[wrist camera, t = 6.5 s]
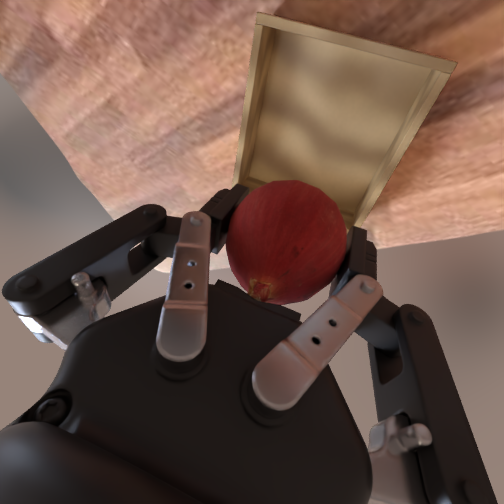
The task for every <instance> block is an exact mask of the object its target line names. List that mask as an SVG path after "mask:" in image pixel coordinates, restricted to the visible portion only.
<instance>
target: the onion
mask: <svg viewBox="0 0 504 504" xmlns="http://www.w3.org/2000/svg"><path fill="white" fill-rule="evenodd" d="M346 249H347V229H346V225H345V222H344V219H343V217H342V215H341V213H340V210H339V208H338V206H337V204H336V203H335V202H334V201H333V200H332V199H331V198H330V197H329V196H327V195H326V194H325V193H324V192H323V191H322V190H320V189H319V188H317V187H314V186H312V185H309V184H307V183H304V182H302V181H299V180H280V181H272V182H270V183H267V184H265V185H263V186H261V187H258V188H256V189H255V190H253V191H252V192H251V193H250V194H248V195H247V196H246V197H245V198H244V200H243V201H242V202H241V203H240V204H239V205H238V206H237V207H236V209H235V211H234V212H233V214H232V216H231V218H230V223H229V228H228V233H227V238H226V251H227V256H228V260H229V264H230V267H231V270H232V272H233V274H234V275H235V277H236V278H237V280H238V282H239V283H240V285H241V286H242V287H243V288H244V289H245V290H246V291H247V292H248V293H247V294H248V295H250V296H251V297H252V298H254V299H255V300H257V301H262V302H267V303H272V304H277V305H285V304H290V303H296V302H301V301H305V300H308V299H309V298H311V297H312V296H313V295H315V294H316V293H317V292H319V291H320V290H321V289H323V288H324V287H326V286H327V285H328V284H330V283H331V281H332V280H333V279H334V278H335V276H336V274H337V272H338V271H339V269H340V267H341V265H342V263H343V261H344V259H345V255H346Z"/></svg>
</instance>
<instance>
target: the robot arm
mask: <svg viewBox="0 0 504 504" xmlns="http://www.w3.org/2000/svg"><path fill="white" fill-rule="evenodd" d="M249 190H250V189H249V187H246V186H243V185H241V184H238V183H237V184H236V185H235V186H234V187H233V188H232V189H231V190H228V189H223V190H220V191H218V192H217V193H216V194H215V195H214V197H212V198H211V199H210V200H209V201H208V202H207V203H206V204H205V205H204V206H203V207H202V208H201V209H200V210H199V211H192V212H188V213H186V214H185V215H184V216H183V218H179V217H172V216H167V215H166V210H165V209H164V208H163V207H162V206H160V205H156V204H147V205H143V206H141V207H139V208H137V209H135V210H133V211H131V212H129V213H128V214H126V215H124V216H122V217H120V218H119V219H117V220H115V221H113V222H111V223H109V224H108V225H106V226H104V227H102V228H100V229H99V230H97V231H95V232H93V233H91V234H89V235H87V236H86V237H84V238H82V239H80V240H78V241H77V242H75V243H73V244H71V245H69V246H67V247H66V248H64V249H62V250H60V251H58V252H56V253H54V254H53V255H51V256H49V257H47V258H45V259H43V260H42V261H40V262H38V263H36V264H34V265H33V266H31V267H29V268H27V269H25V270H23V271H22V272H20V273H18V274H16V275H14V276H13V277H11V278H10V279H9V280H8V281H7V282H6V283H5V284H4V286H3V289H2V294H3V296H4V297H5V299H6V300H7V301H8V302H9V304H10V305H11V306H12V307H13V311H14V312H15V313H16V315H17V316H18V317H19V318H20V319H21V321H22V322H23V323H24V325H25V326H26V327H27V328H28V329H29V330H30V331H32V332H33V334H34V335H35V336H36V337H37V339H38V340H40V341H41V342H45V343H53V342H55V343H56V344H57V345H58V346H60V347H61V348H62V349H63V350H65V354H64V357H63V360H62V363H61V366H60V368H59V370H58V373H57V375H56V377H55V379H54V381H53V382H52V384H51V385H50V387H49V388H48V390H47V392H46V393H45V394H44V395H43V396H42V398H41V399H40V400H39V401H38V402H37V403H35V404H34V405H33V406H32V407H31V408H30V409H28V410H27V411H26V412H25V413H23V415H21V416H20V417H18V418H17V419H16V420H14V421H13V422H12V423H11V424H9V425H7V426H6V427H5V428H3V429H2V430H1V431H0V504H498V503H497V500H496V497H495V494H494V492H493V489H492V486H491V483H490V480H489V478H488V475H487V472H486V469H485V467H484V464H483V461H482V458H481V455H480V453H479V450H478V447H477V444H476V442H475V439H474V436H473V433H472V431H471V428H470V425H469V422H468V419H467V417H466V414H465V411H464V409H463V406H462V403H461V400H460V397H459V394H458V392H457V389H456V386H455V383H454V381H453V378H452V375H451V372H450V369H449V367H448V364H447V361H446V358H445V356H444V353H443V350H442V347H441V345H440V342H439V339H438V336H437V333H436V330H435V328H434V325H433V322H432V320H431V319H430V317H429V316H428V315H427V313H426V312H424V311H423V310H422V309H420V308H419V307H417V306H414V305H411V304H404V305H402V306H401V307H398V306H397V305H395V304H394V303H392V302H390V301H389V300H388V299H386V298H385V297H384V296H383V289H382V287H381V285H380V284H379V283H378V282H377V264H376V262H377V258H376V257H377V250H376V248H375V246H374V244H373V242H370V241H367V240H366V239H367V230H365V229H362V228H359V227H356V226H354V225H353V226H352V227H351V228H350V230H349V232H348V233H347V249H346V255H345V259H344V261H343V263H342V265H341V267H340V269H339V271H338V272H337V274H336V276H335V278H334V279H333V280H332V282H331V287H330V293H329V298H328V299H327V301H325V302H324V303H323V304H322V305H321V306H320V307H319V308H318V309H317V310H316V311H315V312H314V313H313V314H312V315H311V316H310V317H308V318H307V319H306V320H305V322H303V323H302V322H301V321H299V320H300V316H301V314H300V313H298V312H295V311H293V310H291V309H288V308H286V307H284V306H281V305H277V304H272V303H267V302H262V301H257V300H255V299H254V298H252V297H251V296H250V295H248V294H247V293H245V292H244V291H242V290H241V289H240V288H238V287H236V286H234V285H231V284H229V283H226V282H224V281H221V280H219V279H218V280H217V282H216V284H215V285H213V284H209V264H210V253H211V252H212V253H215V254H218V253H219V251H220V250H221V249H222V247H223V246H224V244H225V243H226V238H227V233H228V228H229V223H230V218H231V216H232V214H233V212H234V211H235V209H236V207H237V206H238V205H239V204H240V203H241V202H242V201H243V200H244V198H245V197H246V196H247V195H248V194H249ZM140 242H141V244H139V245H138V246H136V247H135V248H133V249H132V250H131V251H130V249H131V248H132V247H134V246H135V245H137V244H138V243H140ZM167 257H170V258H173V261H172V266H171V271H170V277H169V282H168V287H167V293H166V295H165V296H162V297H159V298H157V299H154V300H151V301H148V302H146V303H143V304H140V305H138V306H135V307H132V308H129V309H127V310H124V311H121V312H118V313H116V314H113V315H110V316H108V317H105V318H104V316H105V315H106V314H107V313H108V312H109V310H110V308H111V301H113V300H114V299H115V298H116V297H118V296H119V295H120V294H122V293H123V292H124V291H125V290H127V289H128V288H129V287H130V286H132V285H133V284H134V283H135V282H137V281H138V280H139V279H140V278H142V277H143V276H144V275H145V274H147V273H148V272H149V271H151V270H152V269H153V268H154V267H156V266H157V265H158V264H159V263H161V262H162V261H163V260H164V259H166V258H167ZM353 332H356V333H357V334H358V335H360V336H361V337H362V338H364V339H365V340H366V341H368V350H369V357H370V366H371V373H372V380H373V387H374V395H375V402H376V409H377V417H378V423H377V424H375V425H374V426H373V427H372V428H371V430H370V434H369V446H368V449H367V447H366V445H365V442H364V440H363V438H362V435H361V433H360V431H359V429H358V427H357V425H356V423H355V420H354V419H353V416H352V414H351V412H350V410H349V407H348V405H347V403H346V401H345V399H344V397H343V395H342V392H341V390H340V388H339V386H338V384H337V382H336V379H335V377H334V375H333V373H332V371H331V369H330V366H329V364H328V363H329V362H330V360H331V359H332V358H333V357H334V355H335V354H336V353H337V352H338V351H339V349H340V348H341V347H342V346H343V344H344V343H345V342H346V341H347V339H348V338H349V337H350V335H352V333H353Z"/></svg>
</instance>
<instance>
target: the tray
mask: <svg viewBox="0 0 504 504" xmlns="http://www.w3.org/2000/svg"><path fill="white" fill-rule="evenodd" d="M457 64H458V63H457V62H455V61H452V60H449V59H446V58H442V57H438V56H434V55H430V54H426V53H422V52H418V51H414V50H410V49H406V48H402V47H398V46H395V45H391V44H387V43H383V42H379V41H375V40H371V39H367V38H363V37H359V36H355V35H351V34H347V33H343V32H339V31H335V30H331V29H327V28H323V27H319V26H315V25H311V24H307V23H303V22H299V21H295V20H291V19H288V18H284V17H280V16H276V15H271V14H266V13H261V12H257V15H256V24H255V29H254V36H253V43H252V50H251V57H250V64H249V71H248V78H247V85H246V92H245V99H244V106H243V113H242V120H241V127H240V134H239V141H238V148H237V155H236V162H235V169H234V176H233V183H232V188H233V187H234V186H235V185H236V184H237V183H238V184H241V185H243V186H246V187H249V189H250V190H249V194H250V193H251V192H252V191H253V190H255V189H256V188H258V187H261V186H263V185H265V184H267V183H270V182H272V181H280V180H299V181H302V182H304V183H307V184H309V185H312V186H314V187H317V188H319V189H320V190H322V191H323V192H324V193H325V194H326V195H327V196H329V197H330V198H331V199H332V200H333V201H334V202H335V203H336V204H337V206H338V208H339V210H340V213H341V215H342V217H343V219H344V222H345V225H346V229H347V233H348V232H349V230H350V228H351V227H352V226H353V225H354V226H356V227H359V228H360V227H361V226H362V224H363V222H364V221H365V219H366V217H367V216H368V214H369V212H370V211H371V209H372V207H373V205H374V204H375V202H376V200H377V199H378V197H379V195H380V194H381V192H382V190H383V189H384V187H385V185H386V184H387V182H388V180H389V179H390V177H391V175H392V173H393V172H394V170H395V168H396V167H397V165H398V163H399V162H400V160H401V158H402V157H403V155H404V153H405V152H406V150H407V148H408V146H409V145H410V143H411V141H412V140H413V138H414V136H415V135H416V133H417V131H418V130H419V128H420V126H421V125H422V123H423V121H424V119H425V118H426V116H427V114H428V113H429V111H430V109H431V108H432V106H433V104H434V103H435V101H436V99H437V98H438V96H439V94H440V92H441V91H442V89H443V87H444V86H445V84H446V82H447V81H448V79H449V77H450V76H451V73H452V72H453V70H454V69H455V67H456V65H457Z"/></svg>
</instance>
